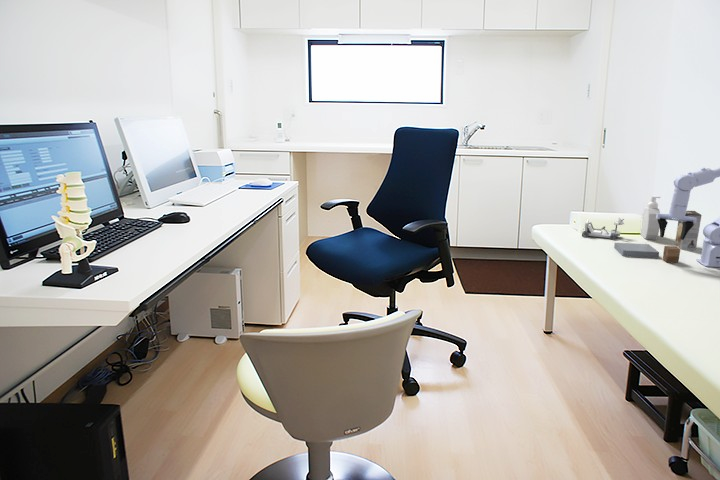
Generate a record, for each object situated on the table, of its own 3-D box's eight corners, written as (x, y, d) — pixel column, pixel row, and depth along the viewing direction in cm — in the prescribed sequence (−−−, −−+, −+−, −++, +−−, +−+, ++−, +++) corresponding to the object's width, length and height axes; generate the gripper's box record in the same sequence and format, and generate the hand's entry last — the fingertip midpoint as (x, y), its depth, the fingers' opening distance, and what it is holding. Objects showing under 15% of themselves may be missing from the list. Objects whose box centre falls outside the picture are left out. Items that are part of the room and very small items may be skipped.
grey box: (658, 259, 235) (659, 252, 234) (622, 257, 237) (623, 250, 237) (647, 250, 248) (648, 244, 248) (613, 249, 251) (614, 242, 250)
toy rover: (625, 216, 272) (625, 221, 262) (622, 236, 275) (622, 241, 264) (585, 213, 280) (583, 217, 269) (583, 232, 282) (581, 237, 272)
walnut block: (678, 263, 227) (680, 249, 226) (666, 262, 228) (668, 248, 226) (674, 260, 231) (676, 246, 230) (662, 259, 232) (664, 245, 231)
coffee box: (674, 244, 258) (679, 210, 254) (689, 245, 257) (694, 210, 253) (680, 249, 249) (686, 213, 245) (696, 250, 248) (702, 214, 244)
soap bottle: (658, 241, 264) (664, 199, 259) (646, 240, 265) (651, 198, 260) (651, 234, 279) (656, 194, 274) (639, 233, 280) (644, 193, 275)
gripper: (694, 205, 228) (687, 237, 231) (656, 201, 230) (649, 233, 233) (701, 208, 221) (693, 242, 224) (662, 204, 223) (655, 237, 227)
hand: (671, 238), depth 228 cm, fingers open, 7 cm apart
